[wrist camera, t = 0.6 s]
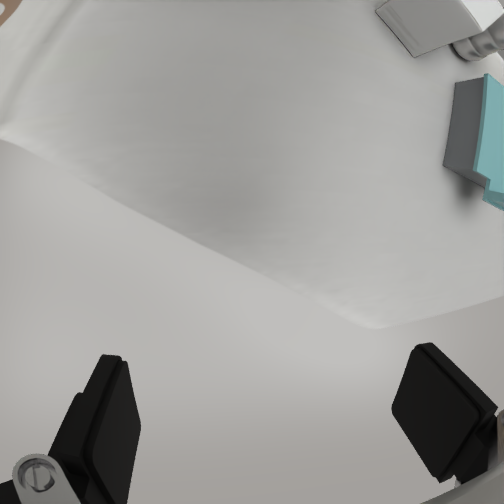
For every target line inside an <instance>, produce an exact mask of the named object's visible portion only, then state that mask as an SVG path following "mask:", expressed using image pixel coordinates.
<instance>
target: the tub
mask: <svg viewBox="0 0 504 504" xmlns="http://www.w3.org/2000/svg"><path fill="white" fill-rule="evenodd" d="M483 86H484V77H482V78H477V79H472V80H467V81H462V82H457V83H455V91H454V100H453V108H452V116H451V123H450V129H449V135H448V141H447V147H446V152H445V157H444V162H443V166H444V167H446V168H448V169H450V170H452V171H454V172H456V173H458V174H460V175H462V176H464V177H466V178H468V179H469V180H471V181H473V182H475V183H477V184H479V185H480V186H482V187H484V188H485V186H486V181H487V179H486V178H485V177H483V176H481V175H480V174H478V173H476V172H474V171H473V166H474V160H475V155H476V149H477V142H478V135H479V128H480V120H481V110H482V100H483Z"/></svg>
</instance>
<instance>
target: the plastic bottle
mask: <svg viewBox="0 0 504 504" xmlns="http://www.w3.org/2000/svg"><path fill="white" fill-rule="evenodd" d="M503 9H504V7H503ZM452 45H453V47H454V49H455V50H456V52H457V53H458V54H459V55H460V56H461V57H463V58H464V59H466V60H469V61H478V60H481V59H483V58H484V57H486V56H488V55H489V54H492V53H495V52H497V51H499V50H504V13H503V14H502V15H501V16H500V17H499V18H498V19H497V20H496V21H495V22H493V23H492V24H491V25H490V26H489V27H488V28H487V29H486V30H484V31H483V32H482V33H479V34H476V35H473V36H470V37H467V38H464V39H461V40H458V41H456V42H453V43H452Z"/></svg>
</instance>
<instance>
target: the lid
mask: <svg viewBox="0 0 504 504" xmlns="http://www.w3.org/2000/svg"><path fill="white" fill-rule="evenodd" d="M473 171H474V172H476V173H478V174H480V175H481V176H483V177H485V178H486V179H487V181H486V186H485V191H484V195H483V200H484V201H485V202H487V203H489V204H491V205H493V206H495V207H496V208H498V209H500V210H502V211H504V86H503V85H501V84H500V83H499V82H498V81H497V80H496V79H494V78H493V77H492V76H491V75H489V74H488V73H487V74H484V86H483V100H482V110H481V120H480V128H479V135H478V142H477V149H476V155H475V160H474V166H473Z"/></svg>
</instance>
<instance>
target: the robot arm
mask: <svg viewBox="0 0 504 504" xmlns="http://www.w3.org/2000/svg"><path fill="white" fill-rule="evenodd" d="M497 408H498V407H497V406H496V404H494V403H493V402H492V401H491V399H490V398H489V397H488V396H486V394H485V393H484V392H483V391H482V390H481V389H480V388H479V387H478V386H477V385H476V384H475V383H474V382H473V381H472V380H471V379H470V378H469V377H468V376H467V375H466V374H465V373H463V372H462V371H461V370H460V369H459V368H458V367H457V366H456V365H455V364H454V363H453V362H452V361H451V360H450V359H449V358H448V357H447V356H446V355H445V354H444V353H443V352H442V351H441V350H439V349H438V348H437V347H436V346H435V345H434V344H433V343H424V344H418V345H416V346H415V348H414V349H413V350H412V351H411V354H410V356H409V360H408V363H407V366H406V368H405V371H404V374H403V377H402V380H401V383H400V385H399V388H398V391H397V394H396V396H395V399H394V401H393V404H392V414H393V416H394V417H395V419H396V420H397V422H398V423H399V425H400V426H401V428H402V430H403V431H404V433H405V434H406V436H407V437H408V439H409V440H410V442H411V444H412V445H413V447H414V448H415V450H416V451H417V453H418V455H419V456H420V458H421V459H422V461H423V462H424V464H425V466H426V467H427V469H428V470H429V472H430V473H431V475H432V476H433V477H436V478H437V480H438V481H439V483H441V482H444V481H446V480H448V479H450V478H452V476H453V475H455V476H456V481H455V487H454V489H452V490H450V491H448V492H446V493H444V494H442V495H440V496H437V497H435V498H433V499H430V500H428V501H426V502H423V503H421V504H504V410H502V411H501V412H499V414H498V416H497V417H496V416H495V415H494V413H495V412H496V410H497ZM140 423H141V422H140V418H139V414H138V410H137V405H136V401H135V397H134V392H133V388H132V383H131V378H130V373H129V368H128V363H127V362H126V361H122V358H121V357H120V356H115V355H104V354H103V355H102V356H101V357H100V359H99V361H98V363H97V365H96V367H95V369H94V371H93V373H92V375H91V377H90V379H89V381H88V383H87V385H86V387H85V389H84V392H83V393H80V392H79V393H77V394H76V396H75V397H74V399H73V401H72V403H71V405H70V407H69V409H68V412H67V413H66V415H65V418H64V420H63V422H62V424H61V426H60V428H59V431H58V433H57V435H56V437H55V439H54V442H53V444H52V446H51V449H50V451H49V453H48V456H46V455H44V454H31V455H27V456H25V457H23V458H21V459H20V460H19V461H18V462H17V463H16V465H15V466H14V468H13V473H12V477H13V479H12V480H9V481H7V482H4V483H1V484H0V504H127V500H128V494H129V488H130V483H131V477H132V472H133V466H134V461H135V456H136V451H137V445H138V441H139V436H140V431H141V424H140Z"/></svg>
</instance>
